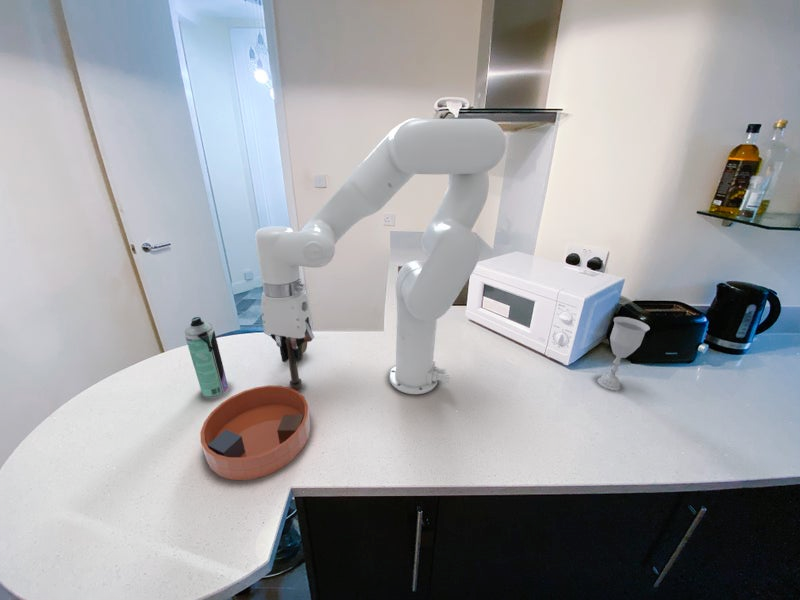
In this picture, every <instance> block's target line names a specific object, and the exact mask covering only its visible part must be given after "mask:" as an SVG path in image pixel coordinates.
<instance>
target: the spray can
mask: <svg viewBox="0 0 800 600" xmlns="http://www.w3.org/2000/svg"><path fill="white" fill-rule="evenodd" d="M184 337H185V341H186V344H187V347H188V351H189V354H190V357H191V361H192V364H193V368H194V371H195V374H196V378H197V382H198V384H199V388H200V392H201V395H202V397H203V398H206V399H214V398H218V397H220V396H222V395H224V394H225V393H226V392H228V390H229V384H228V381H227V377H226V372H225V369H224V365H223V359H222V356H221V352H220V348H219V344H218V340H217V336H216V331H215V328H214V327H213V324H212V323H210V322H206V321H204V320H202V318H201V317H200V316H194V317H193V318H192V319H191V322H190V324H189V326H187V327H186V328H185V329H184Z"/></svg>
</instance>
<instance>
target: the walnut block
mask: <svg viewBox="0 0 800 600" xmlns="http://www.w3.org/2000/svg"><path fill="white" fill-rule="evenodd" d="M303 418H304V415H284V416H283V418H282V420H281V423H280V425H279V427H278V430H277V432H278V437H279V443H280V444H281V443H283V442H285V441H286V440H287V439H288V438H289V437H290V436H291V435H293V434H294V433H295V432H296V430H297V429H298V427H299V426H300V425H301V423H302V421H303Z"/></svg>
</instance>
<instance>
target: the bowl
mask: <svg viewBox="0 0 800 600" xmlns="http://www.w3.org/2000/svg"><path fill="white" fill-rule="evenodd" d="M284 415H304V418H303V421H302V423H301V425H300V426H299V427H298V429H297V430H296V432H295V433H294V434H293V435H291V436H290V437H289V438H288V439H287V440H286V441H285V442H283V443H281V444H280V443H279V437H278V432H277V430H278V427H279V425H280V423H281V420H282V418H283V416H284ZM225 430H228V431H231V432H233V433H235V434H237V435H240V436H242V440H243V444H244V448H245V452H244V453H243V454H242V455H241V456H240V457H239V458H233V457H225V456H222V455H218V454H216V453H215V452H213V451H212V450H210V449H209V448H208V446H207V445H208V444H209V443H211V442H212V441H213V440H214V439H215V438H217V437H218V436H219V435H220V434H221V433H223V432H224V431H225ZM310 433H311V420H310V411H309V404H308V402H307V400H306V398H305V396H304V394H303V395H302V393H301V392H299V390H298V391H296V390H294V389H292V388H290V386H284V385H281V384H280V385H278V384H277V385H269V384H268V385H262V386H255V387H253V388H248V389H246V390H243V391H240V392H239V393H236V394H234V395H232V396H230V397H228V398H226V400H225V401H223V402H221V403H220V404H219V405H217V406H216V408H214V409H213V410H212V411H211V412H210V413H209V415H208V416H207V417H206V418H205V420H204V422H203V425H202V427H201V429H200V444H201V447H202V450H203V454H204V456H205V460H206V462H207V464H208V467H209V468H210V470H211V471H212V472H213V473H215V474H216V475H217V476H219V477H222V478H224V479H228V480H231V481H248V480H254V479H255V480H256V479H258V478H262V477H265V476H267V475H270V474H272V473H274V472H276V471H278V470H280V469H282V468H284V467H286V465H288V464H289V463H291V462H292V461H293V460H294V459H295V458H296V457H297V456H298V455H299V454H300V453H301V452H302V450H303V449H304V447H305V446H306V444H307V442H308V440H309V437H310Z"/></svg>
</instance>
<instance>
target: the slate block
mask: <svg viewBox="0 0 800 600" xmlns="http://www.w3.org/2000/svg"><path fill="white" fill-rule="evenodd" d="M207 446H208V448H209V449H210V450H212V451H213V452H215V453H216V454H218V455H222V456H225V457H233V458H239V457H240V456H241V455H242V454H243V453H244V452H245V448H244V444H243V440H242V436H240V435H237V434H235V433H233V432H231V431H228V430H225V431H224V432H223V433H221V434H220V435H219V436H218V437H217V438H215V439H214V440H213V441H212V442H211V443H209V444H208V445H207Z"/></svg>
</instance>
